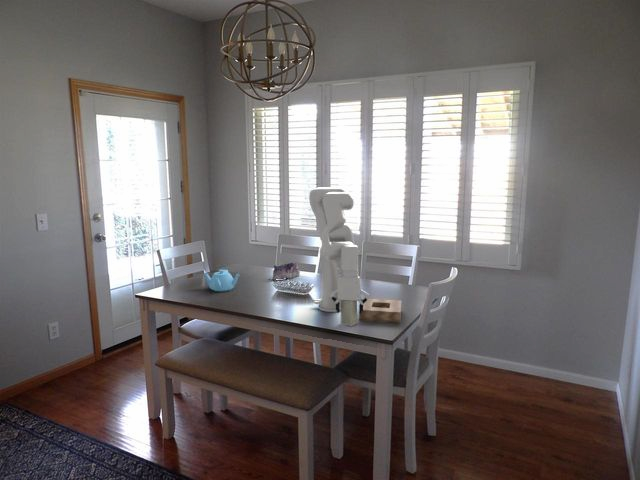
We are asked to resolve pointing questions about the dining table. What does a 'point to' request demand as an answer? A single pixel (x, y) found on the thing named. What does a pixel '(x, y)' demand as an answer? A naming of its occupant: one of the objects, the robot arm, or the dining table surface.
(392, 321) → the socket block
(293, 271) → the geode
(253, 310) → the dining table surface
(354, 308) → the skincare box
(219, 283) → the teapot
